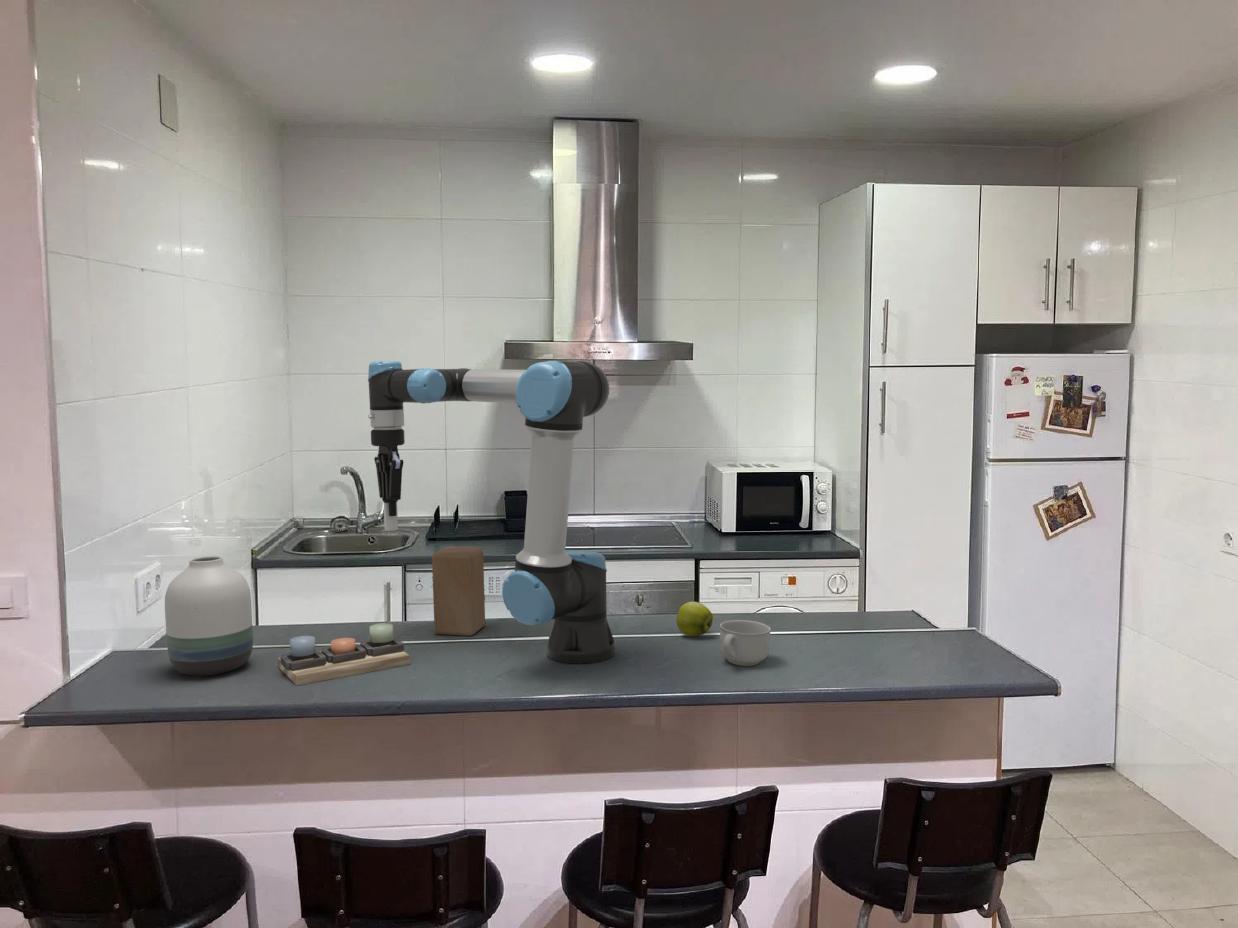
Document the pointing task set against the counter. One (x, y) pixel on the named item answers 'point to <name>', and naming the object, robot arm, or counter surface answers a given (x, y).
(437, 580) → the block
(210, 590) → the vase
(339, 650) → the terracotta button
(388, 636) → the sage button
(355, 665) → the button panel
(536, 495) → the robot arm
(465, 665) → the counter surface
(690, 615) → the apple
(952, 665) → the counter surface
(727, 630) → the teacup
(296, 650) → the slate button
